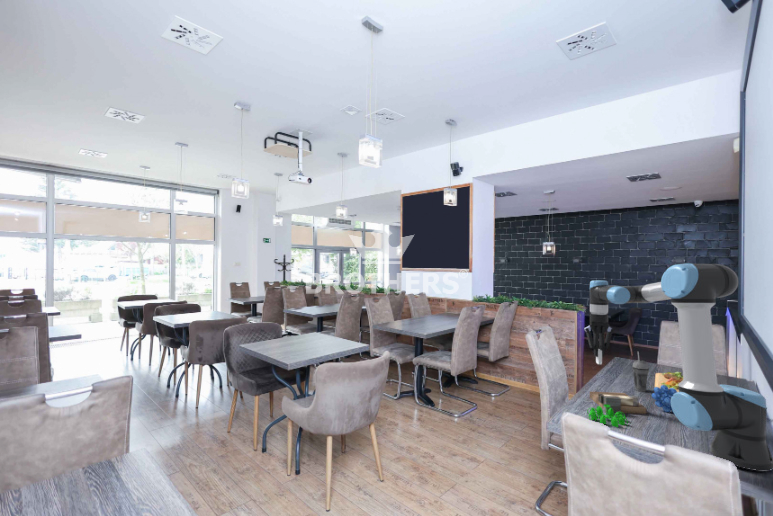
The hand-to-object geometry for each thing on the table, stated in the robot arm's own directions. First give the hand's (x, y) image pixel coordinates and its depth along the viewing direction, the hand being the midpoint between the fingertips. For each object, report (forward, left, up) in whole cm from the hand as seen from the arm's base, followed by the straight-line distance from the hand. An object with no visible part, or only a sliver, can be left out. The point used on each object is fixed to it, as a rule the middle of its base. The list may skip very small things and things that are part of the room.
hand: (598, 363), depth 174 cm
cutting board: (+29, -55, -20) cm, 65 cm away
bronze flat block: (-2, -7, -19) cm, 20 cm away
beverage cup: (+21, -29, -19) cm, 41 cm away
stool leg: (-8, -11, -16) cm, 21 cm away
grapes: (-8, -25, -19) cm, 33 cm away
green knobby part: (-19, +5, -19) cm, 28 cm away
